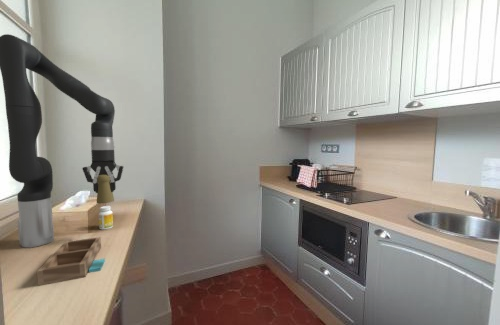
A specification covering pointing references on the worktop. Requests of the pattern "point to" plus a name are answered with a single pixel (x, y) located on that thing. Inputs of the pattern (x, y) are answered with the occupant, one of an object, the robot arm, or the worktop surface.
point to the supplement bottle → (105, 218)
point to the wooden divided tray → (71, 261)
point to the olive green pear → (104, 189)
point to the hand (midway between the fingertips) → (105, 191)
